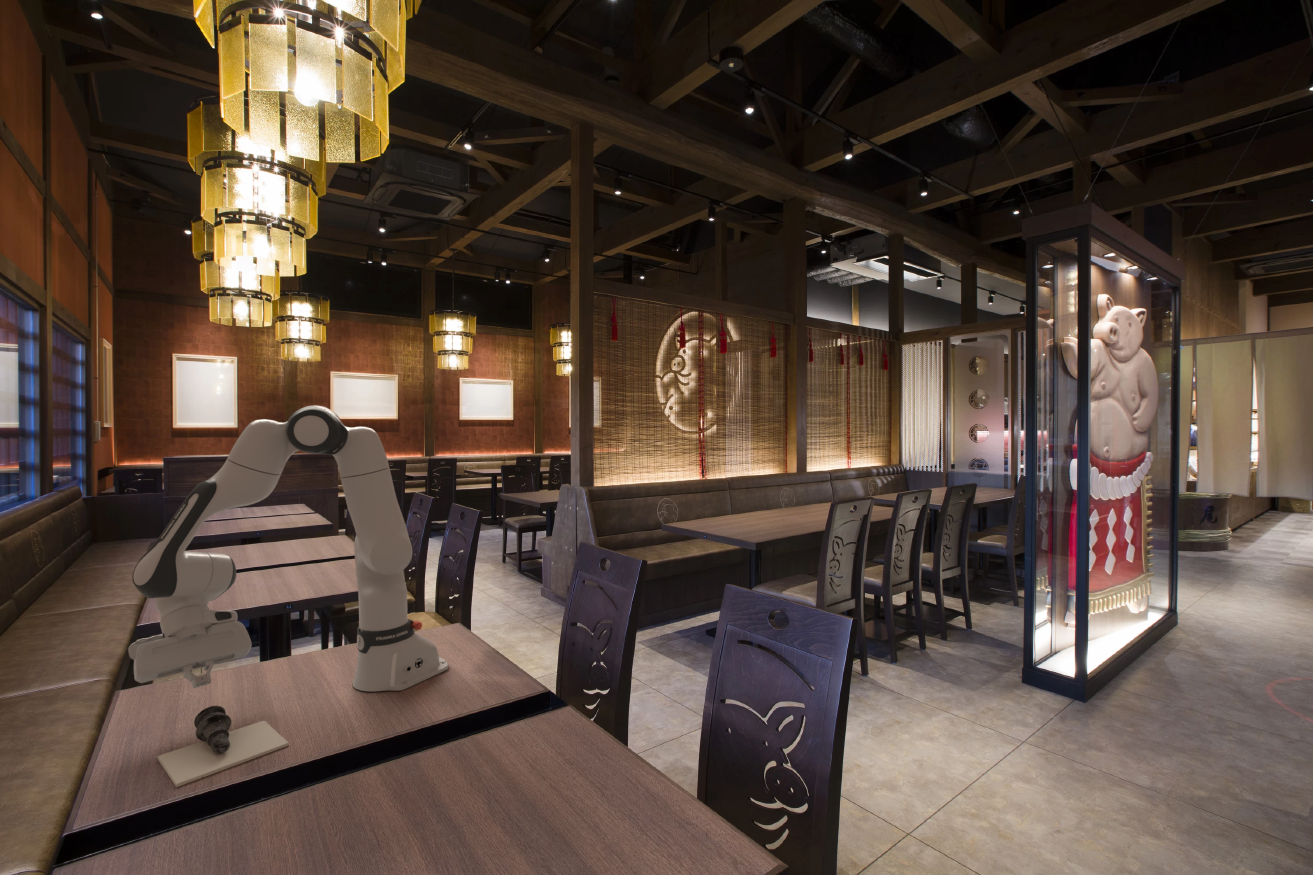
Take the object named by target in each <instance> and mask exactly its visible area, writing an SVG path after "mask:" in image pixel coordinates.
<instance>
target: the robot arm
mask: <svg viewBox="0 0 1313 875" xmlns="http://www.w3.org/2000/svg"><path fill="white" fill-rule="evenodd" d="M298 451H299V452H303V453H306V454H311V455H312V454H313V455H327V456H328V455H329V456H333V458H334V460H335V462H336V464H337V468H338V473H339V477H340V480H341V486H342V490H343V494H344V499H345V502H346V506H347V510H348V512H349V513H348V514H349V515H350V518H351V521H352V525H353V527H354V531H355V536H354V537H355V538H354V543H353V546H354V547H353V548H354V563H355V575H356V582H357V584H356V585H357V593H358V619H359V620H358V623H359V624H358V626H357V627H356V628H357V629H356V632H357V633H356V634H357V635H356V636H357V637H356V645H357V653H358V656H357V664H356V669H355V674H354V678H353V680H352V687H353V688H354V689H356V690H358V691H362V692H382V691H383V692H384V691H385V692H386V691H395V692H398V691H400V692H401V691H404V690H406V689H409V688H411V687H413V686H414V685H417V684H420V683H421V682H424V681H425V680H427V679H430V678H432V677H435V676H436V675H439V674H441V673H443V672H445V671H447V670H448V669H449V664H448V661H447V660H446V659H445V658H443V657H441V656H439V652H438V648H437V646H436V644H435V643H434V642H433V641H431V640H429V639H428V638H426V637H424V636H422V635H421V634H419V633H418V632H415V630H416V631H420V630H421V629H422V628H423V623H422V622H421V621H419V620H413V619H411V618H408V588H407V584H406V581H405V580H406V578H405V569H406V568H407V567H408V566H409V564H410V563H411V561H412V558H413V547H412V542H411V540H410V535H409V532H408V529H407V525H406V521H405V519H404V516H403V513H402V510H401V508H400V504H399V502H398V498H397V494H396V491H395V485H394V482H393V478H392V472H391V468H390V464H389V461H388V457H387V453H386V451H385V448H384V445H383V444H382V441H381V438H380V436H379V435H378V433H377V431H375V430H374V429H373V428H370V427H368V426H355V427H349V426H346V425H344V424H343V422H342V420H341V418H340V417H339V415H338V414H337V413H336V412H334V411H333V410H332V409H330V408H328V407H326V406H323V405H315V404H314V405H308V406H304V407H302V408H299V409H297V410H296V411H295V412H293V413H292V414H291V415H290V416H289V418H288V420H287V421H285V422H281V421H280V422H279V421H276V420H273V419H265V418H263V419H255V420H252V421H251V422H249V423H248V424H247V426H246V427H245V428H244V430H242V432H241V434H240V435H239V437H238V438H237V439H236V442H235V443H234V444H233V447H232V448H231V450H230V452H229V454H228V456H227V458H226V460H225V462H224V463H223V465H222V466H221V467H220V469H219V470H218V471H217V472H216V473H214V474H213V475H212V476H211V477H210V478H208V479H207V480H204V481H201V482H199V483H198V484H197V485H195V487H194V488H193V489H192V490H191V491H190V493H189V494H188V495H187V497H185V499H184V501H183V503H182V504H181V505H180V506H179V508H177V511H176V512H175V513H174V515H173V516H172V518H171V519H170V521H169V522H168V524H167V525H166V527H165V528H164V529H163V531H162V532H161V534H160V535H159V537H158V538H157V539H156V542H155V543H153V545H152V546H151V547H150V548H149V550H148V551H146V553H145V554H144V555H142V557H141V558H140V559H139V560H138V561H137V563H136V565H135V567H134V568H133V569H134V570H133V572H132V583H133V584H134V586H135V588H136V590H138V592H139V593H140V594H142V595H143V596H144V597H145V598H148V599H154V603H155V609H156V610H157V612H158V613H159V615H160V617H159V618H160V619H159V625H160V630H161V634H157V635H152V636H149V637H143V638H139V639H136V640H135V642H133V643H131V644H130V645H129V646H128V648H127V653H128V657H129V658H130V659H131V660H133V675H134V681H135V682H138V683H140V684H144V683H148V682H151V681H155V680H159V679H163V678H166V677H170V676H174V675H178V674H182V677H183V678H184V679H186V680H187V681H189V682H190V683H191V686H192V688H193V689H195V688H200V687H203V686H207V685H210V684H211V682H212V677H211V672H212V670H213V668H214V665H216V664H220V663H224V662H228V661H232V660H236V659H240V658H242V657H247V655H248V653H250V651H251V649H252V640H251V638H250V635H249V632H248V630H247V628H246V627H245V625H244V624H243V623H242V622H241V621H239V620H238V613H237V611H235V610H216V609H215V610H214V609H210V608H209V605H208V604H209V603H210V602H212V601H215V600H216V599H218V598H219V597H221V596H222V595H223V594H224V593H226V592H227V591H228V590H229V589H230V588H231V587H232V586H233V585H234V584H235V583H236V579H237V568H236V563H235V562H234V560H233V558H232V557H231V556H230V555H228V554H227V553H218V552H206V551H205V552H204V551H201V552H200V551H188V550H187V548H188V546H189V545H190V544H191V542H192V541H193V539H194V537H195V536H196V534H197V533H198V532H199V530H200V529H201V527H202V525H203V524H204V523H205V522H206V521H207V520H208V519H210V517H212V516H213V515H215V514H218V513H220V512H223V511H227V510H230V509H235V508H240V507H246V506H250V505H254V504H256V503H259V502H261V501H263V500H265V499H266V498H268V497H269V496H270V495H271V494H272V493H273V491H274V489H275V488H276V486H277V485H278V482H279V480H280V477H281V475H282V473H283V471H284V468H285V466H286V464H287V462H288V460H289V459H290V458H291V456H292V455H293V454H294V453H296V452H298ZM186 550H187V551H186ZM200 668H201V669H202V668H203V671H206V673H205V674H204V673H203V674H201V675H196V674H195V673H193V670H196V669H200Z"/></svg>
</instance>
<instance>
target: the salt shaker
mask: <svg viewBox="0 0 1313 875" xmlns="http://www.w3.org/2000/svg"><path fill="white" fill-rule="evenodd" d="M193 724H194V727H195V728H196V729H195V736H196V738H197V739H198V740H199V741H200V742H201V741H205V742H207V744H208V746H210V747H211V748H212V750H213V752H214V753H215V754H222V753H224V752H226V751H227V750H228V749H229V747H230V742H229V739H228V738H229V733H228V732H229V730H230V728H231V725H232V718H231V717H230V716H229V715H228V714H227V711H226V709H225V708H224V707H222V706H220V705H212V706H208V707H206V708H204V709H202V710H201V711H200V712H198V714H196V716H195V718H194V721H193Z"/></svg>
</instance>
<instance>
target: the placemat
mask: <svg viewBox="0 0 1313 875" xmlns="http://www.w3.org/2000/svg"><path fill="white" fill-rule="evenodd" d="M228 733H229V738H228V739H229V742H230V747H229V749H228V750H227V751H226V752H224V753H222V754H215V753H214V752H213V750H212V748H211V747H210V746H208V744H207V742H205V741H201V740H200V741H198V742H195V743H193V744H190V745H187V746H186V745H185V746H184V747H180V748H177V749H175V750H171V751H168V752H166V753H165V752H164V753H163V754H160V755H157V760H158V762H159V764H160V765H161V767H162V768H163V769H164V771H165V773H166V775H168V777H169V778H170V780H171V782H172V783H173V784H174V787H176V788H178V787H182V786H184V785H186V784H188V783H192V782H195V781H198V780H200V779H203V778H205V777H208V776H211V775H213V774H216V773H219V772H222V771H225V770H226V769H227V770H228V769H229V768H232V767H235V766H237V765H240V764H243V763H245V762H248V761H252V760H254V759H257V758H258V757H262V756H265V755H267V754H270V753H272V752H275V751H278V750H281V749H283V748H285V747H288V746H290V744H289V742H288V741H287V740H286V738H284V737H283V736H282V735H281V734H279V733H278V731H276V729H274V728H273V727H272V726H271V725H270V724H268V722H266V721H265V720H262V721H261V720H260V721H258V722H255V723H253V724H249V725H247V726H243V727H240V728H236V729H235V730H231V731H228ZM202 777H203V778H202Z"/></svg>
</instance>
